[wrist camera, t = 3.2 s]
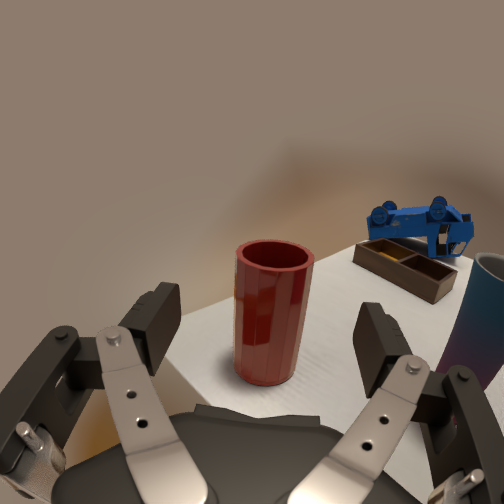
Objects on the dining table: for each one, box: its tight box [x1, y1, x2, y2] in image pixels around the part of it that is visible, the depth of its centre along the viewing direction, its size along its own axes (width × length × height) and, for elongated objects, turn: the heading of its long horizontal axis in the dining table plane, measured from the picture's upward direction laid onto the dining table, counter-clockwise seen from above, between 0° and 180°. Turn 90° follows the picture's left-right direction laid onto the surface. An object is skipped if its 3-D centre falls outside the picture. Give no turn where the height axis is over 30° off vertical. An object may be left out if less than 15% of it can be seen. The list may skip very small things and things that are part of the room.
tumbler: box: [233, 240, 314, 386], centre depth 26 cm, size 6×6×12 cm
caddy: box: [353, 238, 458, 304], centre depth 47 cm, size 9×18×4 cm, turn 32°
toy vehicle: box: [367, 196, 474, 258], centre depth 60 cm, size 25×12×12 cm, turn 52°
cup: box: [435, 252, 504, 424], centre depth 18 cm, size 7×7×15 cm
